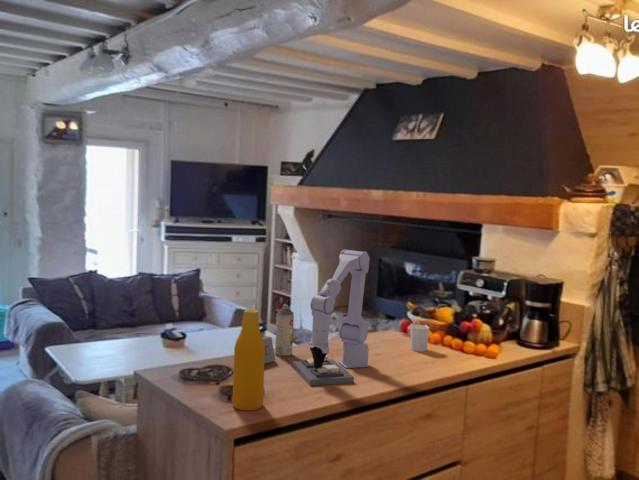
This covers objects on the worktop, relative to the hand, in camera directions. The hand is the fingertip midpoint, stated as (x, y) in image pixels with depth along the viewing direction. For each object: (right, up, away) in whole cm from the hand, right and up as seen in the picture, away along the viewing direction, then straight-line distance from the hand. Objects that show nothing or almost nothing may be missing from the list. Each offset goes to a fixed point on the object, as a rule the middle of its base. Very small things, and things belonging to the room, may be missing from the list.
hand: (317, 368), depth 207 cm
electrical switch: (-21, -2, +18) cm, 28 cm away
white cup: (+43, -2, +47) cm, 63 cm away
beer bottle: (-21, -6, -27) cm, 35 cm away
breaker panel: (+1, -4, +7) cm, 8 cm away
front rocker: (+3, -1, +1) cm, 4 cm away
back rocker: (0, 0, +12) cm, 12 cm away
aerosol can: (-14, -1, +30) cm, 33 cm away
